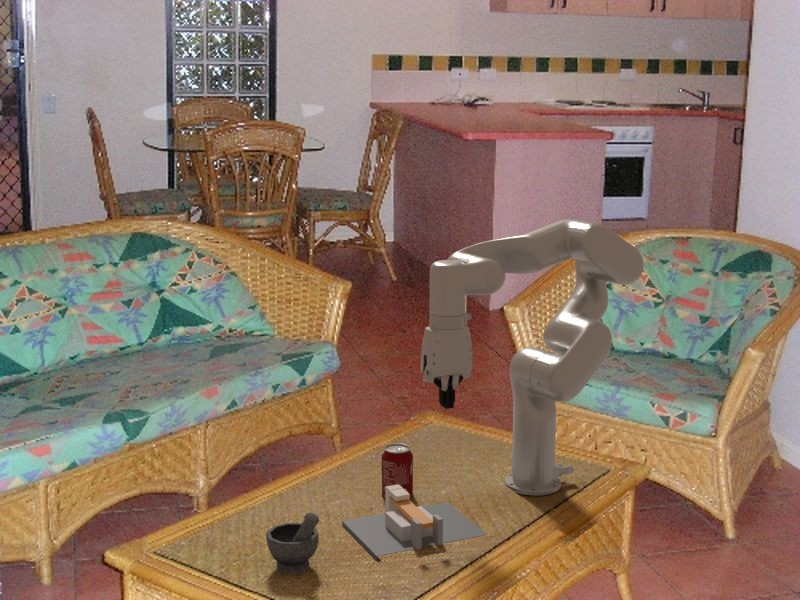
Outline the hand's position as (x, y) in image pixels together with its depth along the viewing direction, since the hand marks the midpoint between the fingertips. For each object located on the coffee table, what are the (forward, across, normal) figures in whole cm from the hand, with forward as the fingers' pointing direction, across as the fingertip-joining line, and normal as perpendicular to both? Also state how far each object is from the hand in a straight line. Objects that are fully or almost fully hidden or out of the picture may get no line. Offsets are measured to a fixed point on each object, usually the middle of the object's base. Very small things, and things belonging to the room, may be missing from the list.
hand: (446, 406), depth 240 cm
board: (+23, +11, +8) cm, 27 cm away
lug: (+22, +12, +2) cm, 25 cm away
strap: (+18, +12, +8) cm, 24 cm away
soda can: (+23, +7, -10) cm, 26 cm away
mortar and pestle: (+23, +38, +12) cm, 46 cm away
